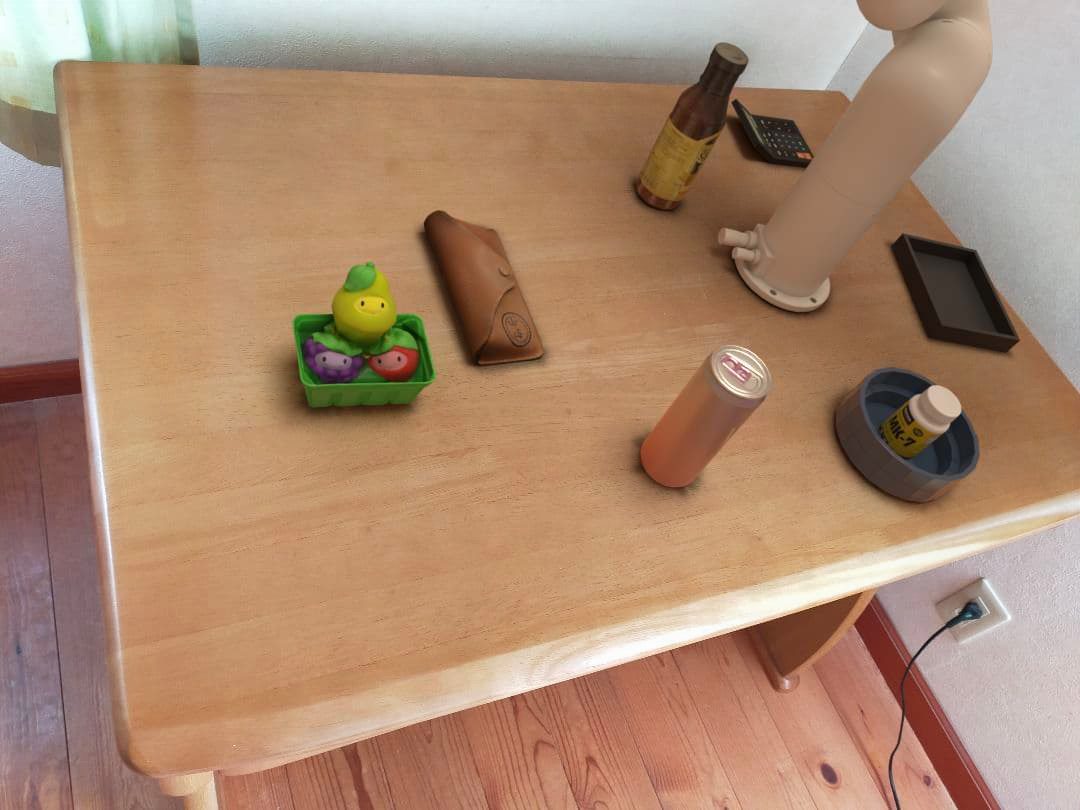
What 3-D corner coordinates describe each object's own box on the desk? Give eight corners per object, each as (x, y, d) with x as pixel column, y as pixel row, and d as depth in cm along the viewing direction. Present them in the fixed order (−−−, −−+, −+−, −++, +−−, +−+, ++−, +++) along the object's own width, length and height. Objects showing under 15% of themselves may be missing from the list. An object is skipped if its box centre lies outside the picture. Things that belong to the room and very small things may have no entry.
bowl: (853, 496, 90) (882, 471, 86) (819, 385, 98) (845, 358, 94) (965, 510, 94) (998, 487, 90) (924, 402, 102) (952, 377, 98)
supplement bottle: (866, 431, 96) (915, 386, 89) (894, 421, 98) (943, 377, 92) (893, 467, 94) (945, 424, 87) (920, 456, 96) (973, 413, 90)
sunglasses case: (551, 355, 87) (538, 321, 81) (486, 383, 87) (468, 350, 81) (494, 225, 96) (478, 185, 90) (434, 250, 96) (415, 212, 90)
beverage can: (658, 427, 87) (730, 331, 76) (705, 467, 86) (785, 376, 75) (626, 459, 83) (696, 364, 72) (674, 502, 82) (753, 412, 71)
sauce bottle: (677, 219, 108) (758, 82, 92) (630, 200, 107) (704, 58, 92) (682, 187, 112) (760, 51, 97) (637, 169, 111) (708, 28, 96)
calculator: (814, 168, 125) (826, 151, 122) (746, 160, 120) (756, 142, 118) (790, 125, 130) (801, 108, 127) (723, 115, 125) (733, 98, 123)
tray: (1006, 352, 113) (1020, 340, 112) (928, 337, 110) (941, 325, 108) (964, 262, 123) (976, 249, 121) (891, 246, 119) (902, 232, 117)
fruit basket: (295, 421, 74) (310, 338, 66) (284, 339, 79) (296, 251, 70) (425, 415, 79) (455, 337, 70) (408, 338, 84) (434, 255, 75)
